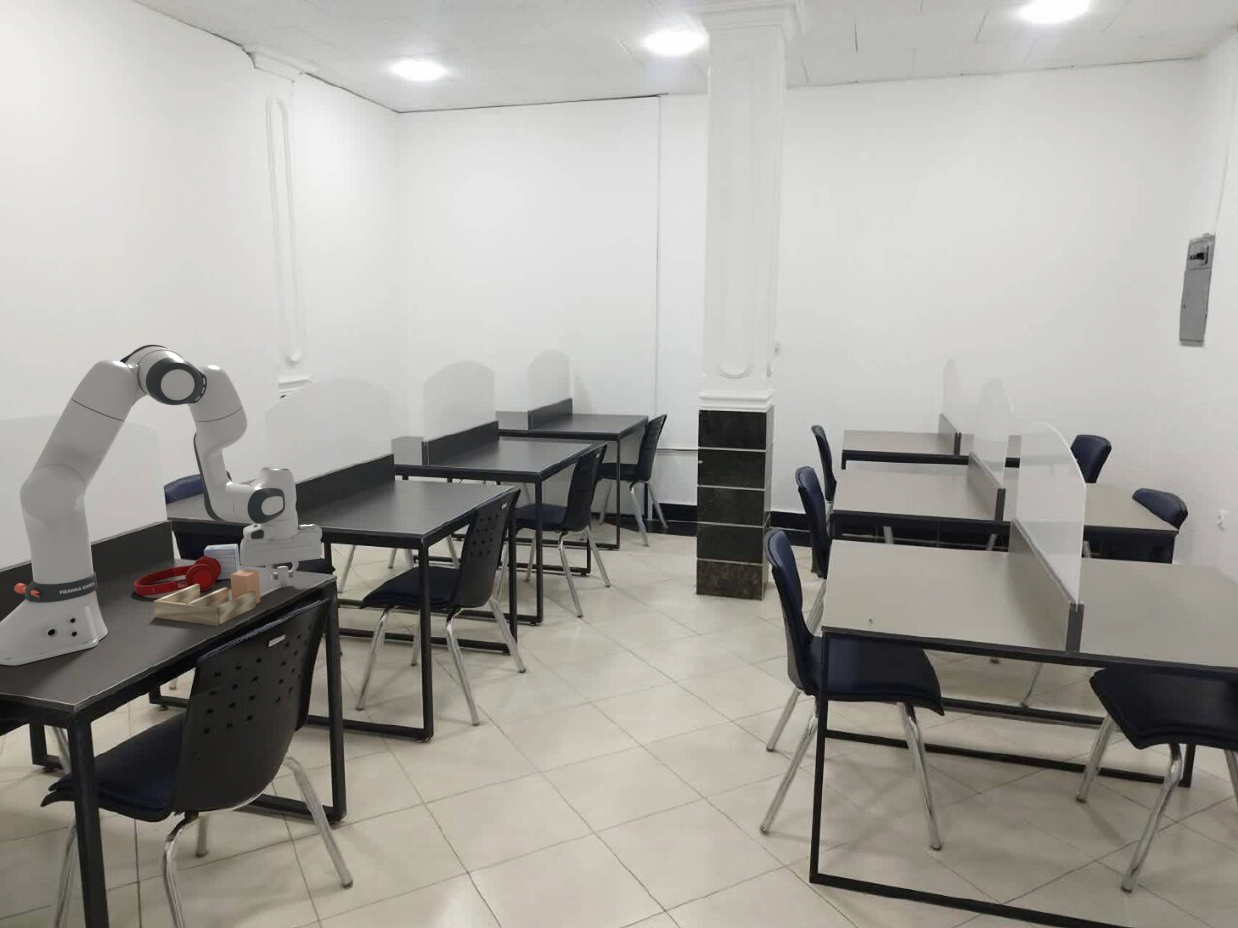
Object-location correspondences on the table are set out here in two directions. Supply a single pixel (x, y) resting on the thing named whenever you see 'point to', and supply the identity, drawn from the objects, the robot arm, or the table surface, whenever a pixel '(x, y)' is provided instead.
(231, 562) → the medicine box
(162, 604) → the lane shelf
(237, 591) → the block
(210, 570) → the headphones
